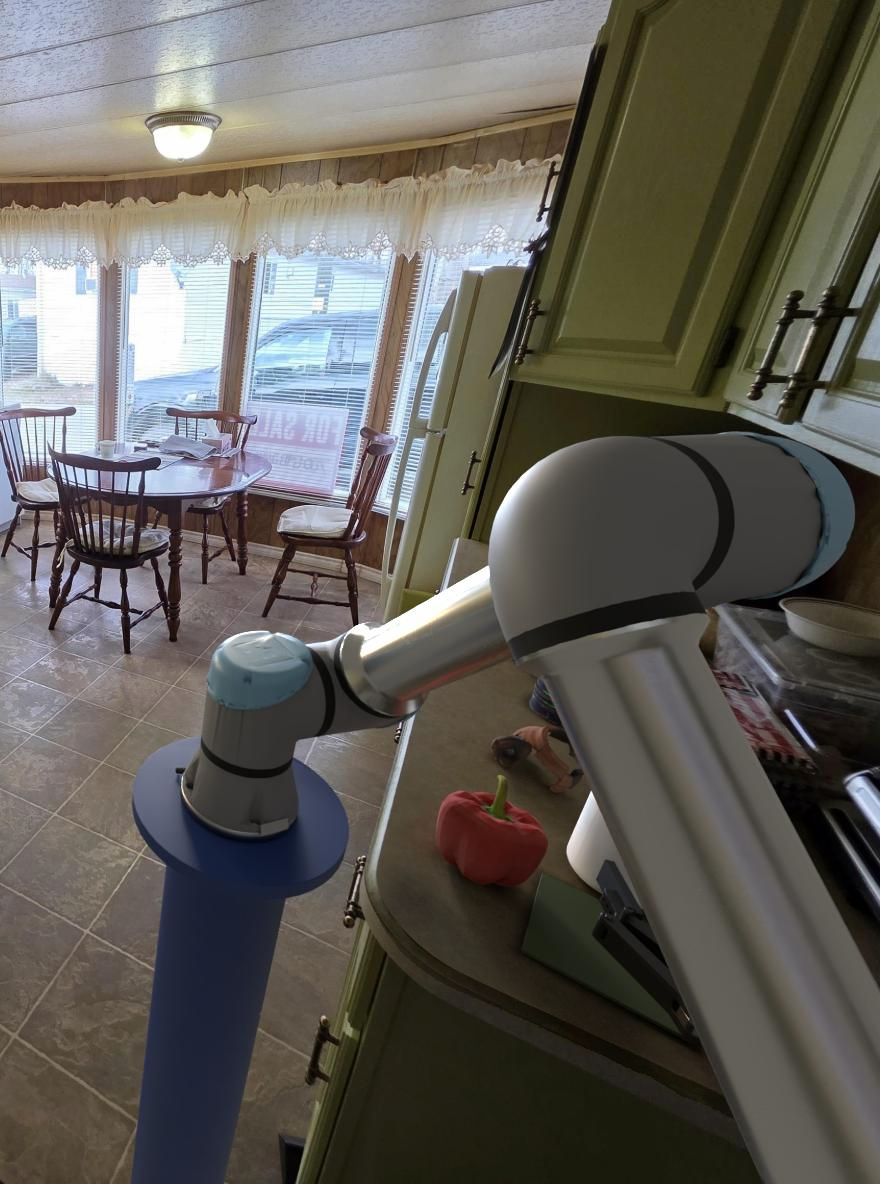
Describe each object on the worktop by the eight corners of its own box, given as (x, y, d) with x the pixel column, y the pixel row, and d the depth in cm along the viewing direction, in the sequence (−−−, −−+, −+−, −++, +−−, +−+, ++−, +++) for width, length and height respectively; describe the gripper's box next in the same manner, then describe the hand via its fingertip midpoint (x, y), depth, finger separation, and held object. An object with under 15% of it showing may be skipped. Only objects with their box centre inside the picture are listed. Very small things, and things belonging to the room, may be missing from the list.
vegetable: (433, 818, 81) (453, 754, 77) (529, 854, 76) (556, 788, 72) (422, 875, 73) (444, 807, 69) (529, 920, 67) (560, 849, 63)
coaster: (520, 951, 64) (522, 949, 64) (541, 875, 73) (542, 872, 73) (691, 1044, 56) (693, 1041, 56) (690, 945, 65) (692, 943, 65)
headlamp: (528, 747, 96) (576, 722, 90) (557, 809, 90) (610, 787, 84) (462, 733, 93) (507, 707, 87) (487, 796, 87) (537, 772, 81)
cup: (594, 909, 69) (628, 839, 65) (546, 839, 78) (573, 774, 74) (695, 922, 68) (736, 852, 64) (634, 850, 77) (667, 785, 73)
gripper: (612, 1098, 48) (528, 882, 67) (1072, 1246, 41) (834, 957, 59) (650, 1034, 45) (551, 826, 64) (1152, 1181, 38) (875, 898, 56)
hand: (687, 889), depth 62 cm, fingers open, 13 cm apart
